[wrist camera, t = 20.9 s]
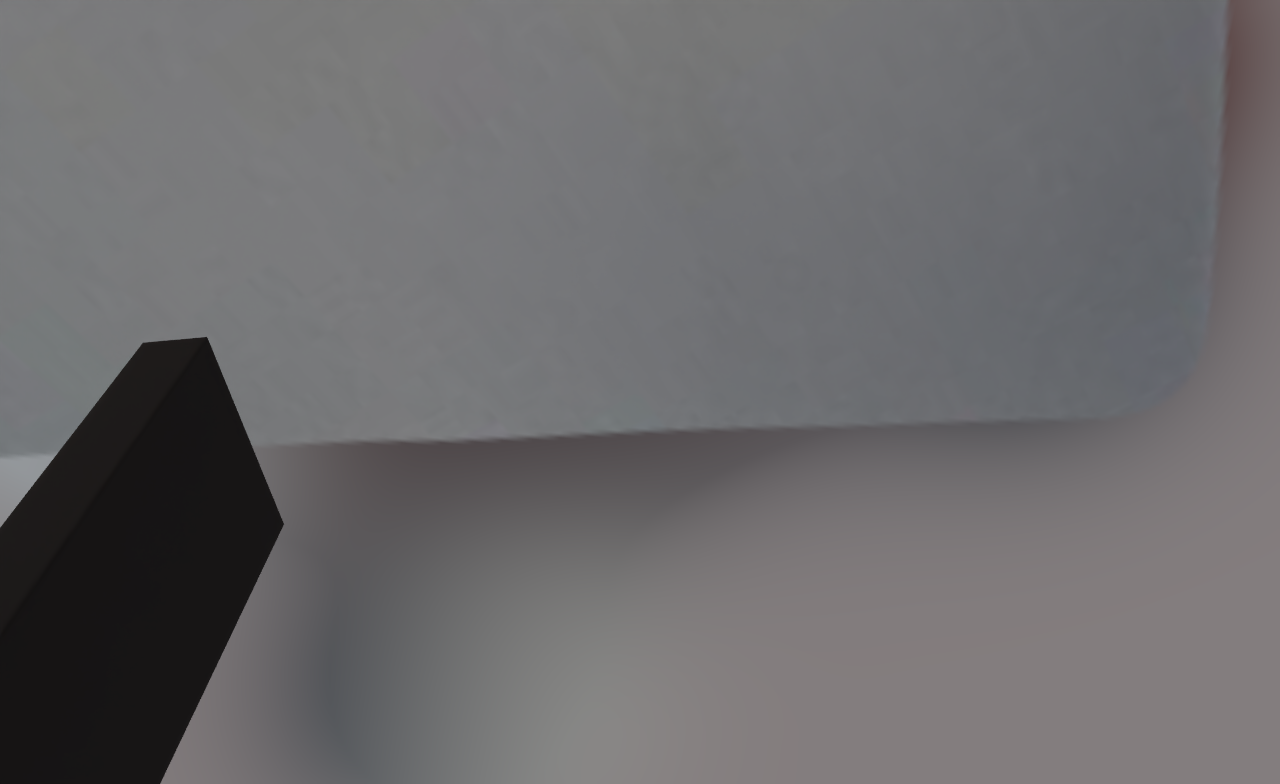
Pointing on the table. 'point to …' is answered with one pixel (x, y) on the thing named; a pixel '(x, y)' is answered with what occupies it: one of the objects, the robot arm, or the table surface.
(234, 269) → the table surface
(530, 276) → the table surface
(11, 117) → the table surface
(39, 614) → the robot arm
